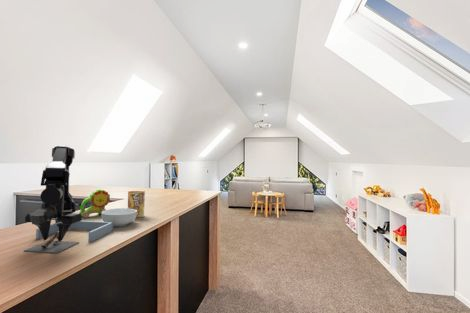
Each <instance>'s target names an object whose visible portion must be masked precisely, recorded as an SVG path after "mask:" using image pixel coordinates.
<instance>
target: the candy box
mask: <svg viewBox="0 0 470 313" xmlns="http://www.w3.org/2000/svg"><path fill="white" fill-rule="evenodd" d="M145 192H146V191H145V190H128V191H127V208H128V209H135V210H137V216H136V218H143V217H144V216H145V200H146V199H145V198H146V197H145V196H146V195H145V194H146V193H145Z"/></svg>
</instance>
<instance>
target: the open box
mask: <svg viewBox="0 0 470 313" xmlns="http://www.w3.org/2000/svg"><path fill="white" fill-rule="evenodd" d="M60 223H61V222H58V223H55V222H54V223H51V224H50V229H49V234H48V236H50V235H53V234H55V233H57V232H58V231H59V227H58V226H57V224H60ZM77 229H78V230H81V231H88V239H87V240H88V243H91V242H93V241H96V240H97V239H99V238H102V237H104V236H105V235H107V234H109V233H112V232H113V231H114V226H113V222H104V221H94V220H93V221H91V220H82V221H79V222H76V223H73V224H71V226H70V227H69V229H68V230H77ZM35 230H36V231H35V239H36V240H39V239H42V238H43V236H42V234H41V232H40V229H39V228H36V229H35Z"/></svg>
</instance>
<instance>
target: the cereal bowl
mask: <svg viewBox="0 0 470 313" xmlns="http://www.w3.org/2000/svg"><path fill="white" fill-rule="evenodd" d="M136 216H137V210H135V209H128V207H125V208H124V207H121V208H110V209H109V208H108V209H106V210H105V211H102V215H101V219H102V220H101V221H102V222H113V227H125V226H127V225H128V224H130V223H132V222H134V221H135V219H136V218H137V217H136Z"/></svg>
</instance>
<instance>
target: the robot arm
mask: <svg viewBox="0 0 470 313" xmlns="http://www.w3.org/2000/svg"><path fill="white" fill-rule="evenodd" d="M75 153H76V151H75V149H74V148H71V147H70V146H69V145H55V146H54V147H52V149H51V158H52V161H51V162H50V163H48V164H47V165H45V169H43V170H42V174H41V175H42V176H41V180H40V181H41V182H40V187H41V186H42V187H43V186H45V189H44V190H42V191H41V194H40V200H41V201H42V203H41V207H40V208H38V209H37V210H35V211H33V212H30V213H27V214H26V216H25V217H24V222H25V223H31V224H32V225H34V226H36V227H38V228H37V229H40V232H41V234H42V236H43V237H42V238H43V241H48V238H49V235H48V234H49V229H50V225H51V224H52V221H55V222H54V223H58V222H61V223H60V224H57V226H58V227H59V241H63V239H64V238H65V236H66V234H67V232H68V230H70V229H69V227H70V226H71V224H73V223H76V222H79V221H83V220H82V218H83V217H82V216H81V214H79V213H76V210H77V209H76V203H75V201H74V200H73V195H72V194H71V193H70V175H71V174H70V166H71V165H72V164H73V160H74V159H75V156H76V154H75Z"/></svg>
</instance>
